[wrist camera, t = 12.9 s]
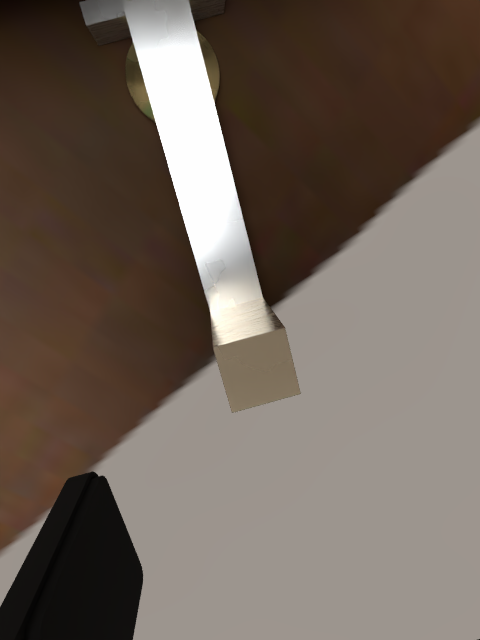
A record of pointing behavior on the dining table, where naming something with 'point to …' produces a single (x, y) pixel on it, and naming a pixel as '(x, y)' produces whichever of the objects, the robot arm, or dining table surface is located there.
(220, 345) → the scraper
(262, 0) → the dining table surface
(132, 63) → the brass token
